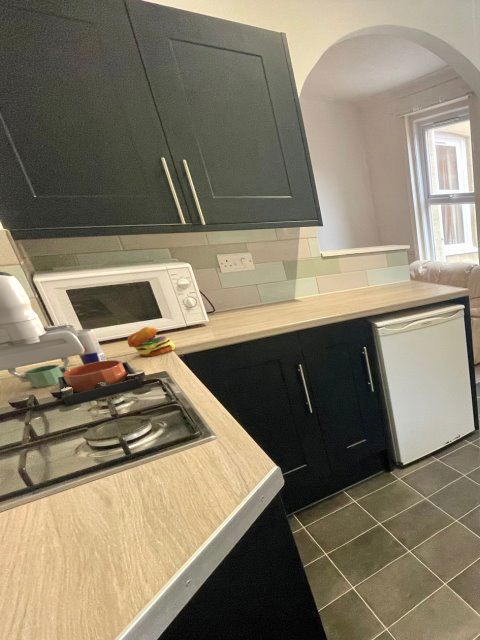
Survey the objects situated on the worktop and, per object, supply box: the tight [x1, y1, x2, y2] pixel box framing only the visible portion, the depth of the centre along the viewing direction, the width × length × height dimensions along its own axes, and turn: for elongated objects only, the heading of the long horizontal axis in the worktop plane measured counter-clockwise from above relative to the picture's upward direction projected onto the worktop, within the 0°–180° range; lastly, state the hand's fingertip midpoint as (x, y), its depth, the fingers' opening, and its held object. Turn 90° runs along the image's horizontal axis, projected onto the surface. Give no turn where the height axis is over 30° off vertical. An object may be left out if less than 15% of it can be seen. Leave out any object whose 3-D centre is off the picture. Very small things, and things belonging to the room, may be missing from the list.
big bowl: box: [63, 359, 127, 392], centre depth 116 cm, size 12×12×6 cm
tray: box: [58, 361, 143, 407], centre depth 117 cm, size 15×21×2 cm
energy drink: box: [77, 328, 108, 365], centre depth 129 cm, size 5×5×12 cm
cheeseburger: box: [127, 326, 176, 357], centre depth 141 cm, size 10×11×10 cm
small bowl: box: [24, 364, 63, 389], centre depth 120 cm, size 7×7×4 cm
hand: (45, 377), depth 120 cm, fingers closed on small bowl, 7 cm apart
